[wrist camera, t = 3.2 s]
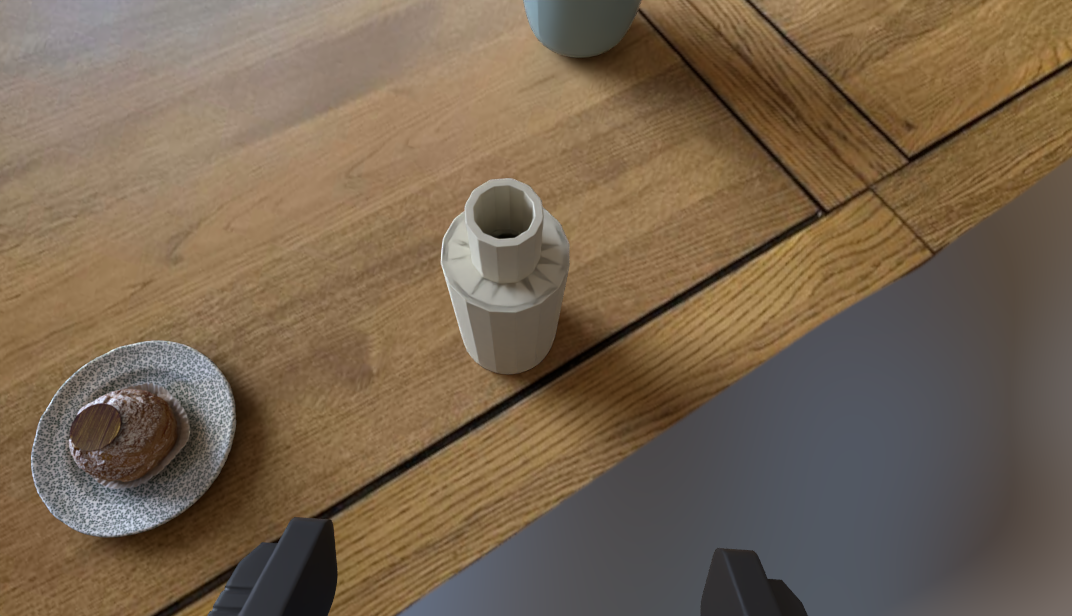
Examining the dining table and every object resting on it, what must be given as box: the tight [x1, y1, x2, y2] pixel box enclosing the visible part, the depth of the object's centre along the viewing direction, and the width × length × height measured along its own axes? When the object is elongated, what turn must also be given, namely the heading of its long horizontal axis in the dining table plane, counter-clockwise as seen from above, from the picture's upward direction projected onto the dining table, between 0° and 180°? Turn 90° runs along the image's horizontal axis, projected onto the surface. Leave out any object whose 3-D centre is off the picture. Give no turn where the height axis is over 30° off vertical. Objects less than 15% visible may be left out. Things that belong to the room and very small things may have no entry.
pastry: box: [31, 341, 236, 537], centre depth 35 cm, size 12×12×5 cm
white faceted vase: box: [441, 178, 569, 374], centre depth 33 cm, size 6×6×16 cm
